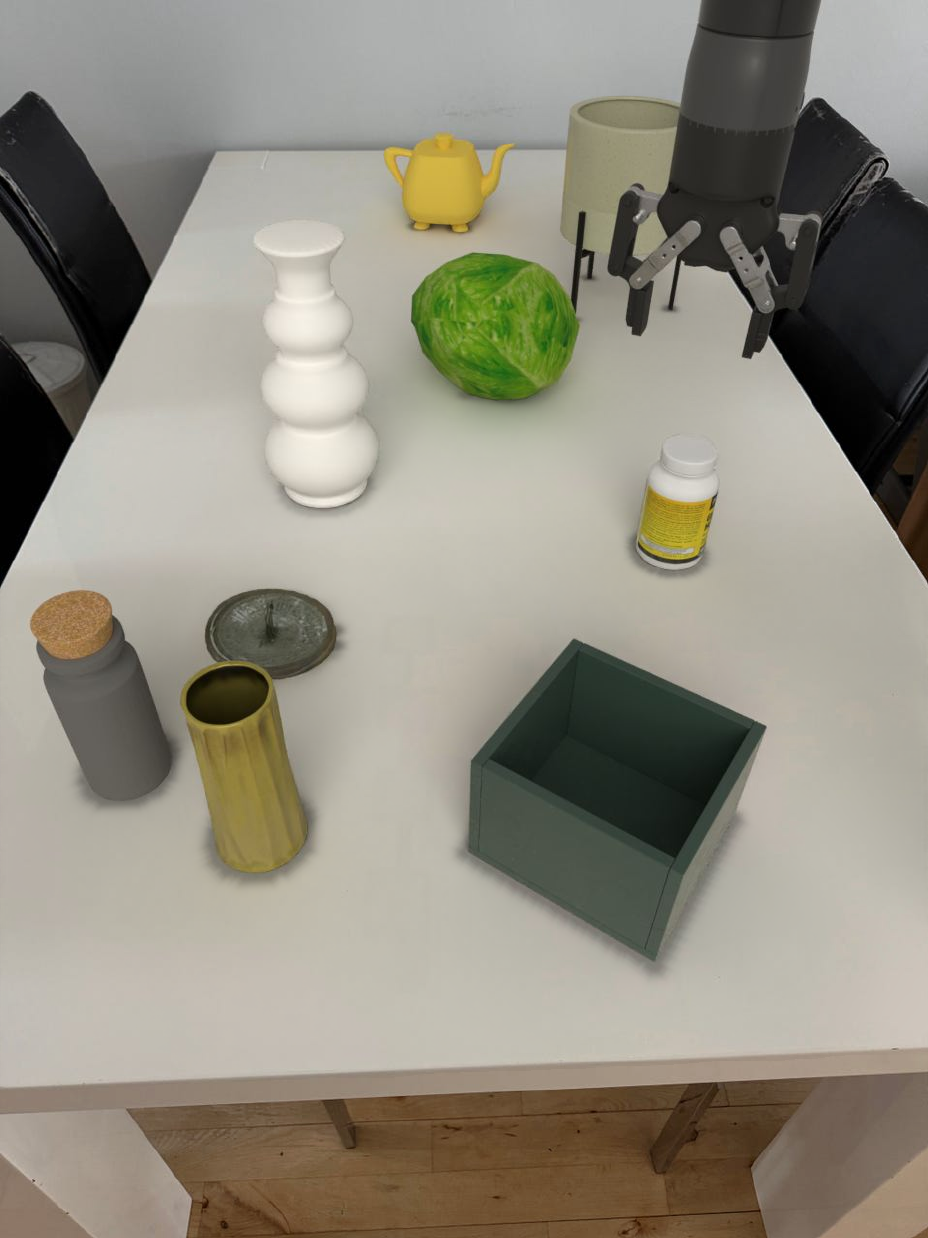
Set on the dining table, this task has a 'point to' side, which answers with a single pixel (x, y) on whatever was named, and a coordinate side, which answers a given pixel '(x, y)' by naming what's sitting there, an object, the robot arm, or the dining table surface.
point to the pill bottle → (678, 503)
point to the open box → (610, 792)
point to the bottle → (100, 695)
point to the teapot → (444, 180)
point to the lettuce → (495, 325)
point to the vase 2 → (313, 372)
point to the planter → (615, 173)
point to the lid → (272, 631)
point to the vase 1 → (244, 765)
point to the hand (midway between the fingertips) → (692, 342)
